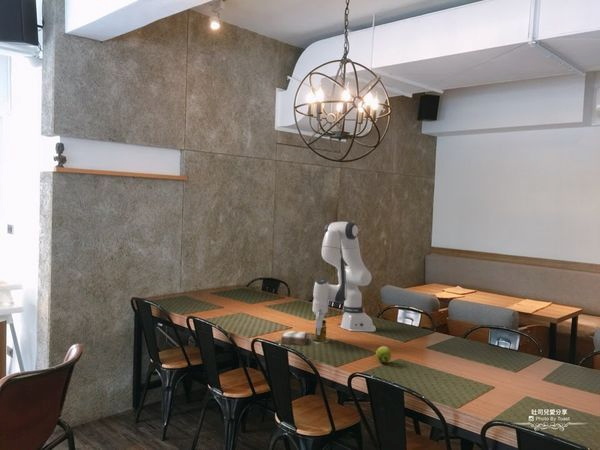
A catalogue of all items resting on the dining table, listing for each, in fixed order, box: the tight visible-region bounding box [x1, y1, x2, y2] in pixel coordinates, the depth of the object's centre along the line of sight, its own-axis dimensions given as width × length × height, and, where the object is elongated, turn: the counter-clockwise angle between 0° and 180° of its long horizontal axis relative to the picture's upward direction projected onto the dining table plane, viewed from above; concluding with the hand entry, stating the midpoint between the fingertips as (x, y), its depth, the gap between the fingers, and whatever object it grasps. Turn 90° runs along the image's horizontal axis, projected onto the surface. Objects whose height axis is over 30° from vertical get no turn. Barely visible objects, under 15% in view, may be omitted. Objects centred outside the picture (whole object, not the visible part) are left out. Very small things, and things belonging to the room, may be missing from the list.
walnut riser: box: [280, 330, 308, 346], centre depth 284 cm, size 13×13×4 cm
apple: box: [375, 345, 392, 364], centre depth 253 cm, size 8×9×8 cm
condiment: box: [309, 319, 329, 345], centre depth 285 cm, size 7×8×12 cm
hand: (319, 332), depth 285 cm, fingers open, 8 cm apart
